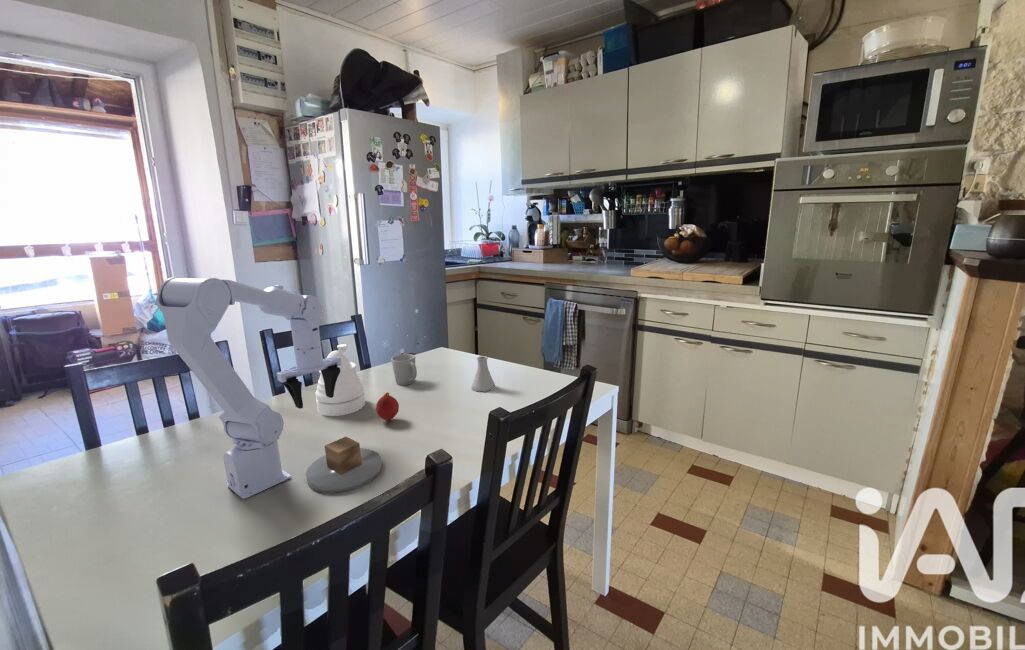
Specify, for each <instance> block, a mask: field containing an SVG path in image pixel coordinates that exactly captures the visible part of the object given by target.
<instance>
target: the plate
mask: <svg viewBox="0 0 1025 650" xmlns="http://www.w3.org/2000/svg"><path fill="white" fill-rule="evenodd" d="M360 453H361V462H362V465H360V466H358V467H356V468H354V469H352V470H350V471H348V472H346V473H344V474H341V475H340V474H338V473H336V472H335V471H333V470H331V469H330V468H328V467H327V461H326V454H325V455H322V456H320V457H318V459H316V460H314V461H313V462H312V463H311V464H310V465H309V466H308V467H307V469H306V472H305V477H306V484H307V485H308V487H309V488H311V489H312V490H313V491H316V492H319V493H325V494H337V493H344V492H349V491H353V490H355V489H356V490H357V489H359V488H361V487H363V486H365V485H366V484H368V483H370V482H372V481H373V480H374V479H375V478H377V476H379V475H380V473H381V471H382V468H383V466H382V465H383V464H382V458H381V455H380V454H379V453H378V452H377V451H375V450H372V449H369V448H362V447H360Z"/></svg>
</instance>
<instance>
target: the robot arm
mask: <svg viewBox="0 0 1025 650" xmlns="http://www.w3.org/2000/svg"><path fill="white" fill-rule="evenodd" d="M235 303H241V304H247V305H252V306H253V305H254V306H258V308H259V310H260V311H261V312H262V313H264V314H267V315H271V316H276V317H283V318H285V319H286V320H287V321H289V322H290V329H291V338H292V343H293V344H292V345H293V351H294V358H295V359H294V360H295V365H293V366H291V367H289V368H287V369H284V370H281V371H279V372H276V376H277V377H276V378H277V381H278V382H280V383H281V384H282V385H283V386H284V387H285V388H286V391H288V393H289V395H290V397H291V398H292V401H293V403H294V406H295V408H297V409H300V410H301V409H304V407H303V406H304V403H303V397H302V386H303V382H302V381H301V380H300V381H299V379H298V377H302V376H306V375H309V374H313V373H316V372H319V371H320V370H321V373H322V376H323V379H324V385H325V392H326V396H327V397H330V398H332V397H333V396H334V389H335V384H336V381H337V378H338V376H339V374H340V368H339V367H337V366H340V365H341V358H340V357H337V356H335V357H331V358H327V357H326V358H323V350H322V344H321V336H320V335H321V332H320V326H321V324H322V323H321V316H322V314H323V305H322V303H321V302H320V300H319V299H318V298H317V297H316V296H315V295H311V294H309V295H307V294H301V293H300V291H299V290H287V289H284V285H280V284H274V285H273V286H268V287H265V288H264V289H260V288H258V287H255V286H250V285H247V284H244V283H241V282H237V281H234V280H231V279H221V278H217V277H210V278H196V277H195V278H194V277H193V278H192V277H190V278H189V277H180V276H172V277H170V278H166V279H165V280H164V281H163V282H162V283H161V284H160V286H159V288H158V291H157V295H156V297H155V301H154V304H155V306H156V308H158V310H159V311H160V312H161V314H162V317H163V321H164V326H165V331H166V335H167V340H168V342H169V344H170V346H171V347H172V348H173V349H174V351H175V352H176V353H177V354H178V356H179V357H180V358H181V360H182V361H183V362H184V363H185V364H186V366H187V367H188V368H189V370H190V371H191V372H192V373H193V375H194V376H195V377H196V379H197V380H198V381H199V382H200V383H201V384H202V386H203V387H204V388H205V390H206V391H207V392H208V394H209V395H210V396H211V397H212V398H213V400H214V401H215V402H216V403H217V405H219V407H220V409H221V410H222V411H221V412H220V414H219V416H218V419H219V420H220V421H221V422H222V426H223V431H224V433H225V435H226V436H227V437H228V438H230V439H232V441H233V444H234V445H235V446H234V447H232V448H231V449H230V450H228V451H226V452H224V453H223V465H224V469H225V475H226V480H227V483H226V486H227V487H228V488H229V489H230V490H231V491H233V492H234V493H235V494H236V495H238V496H239V497H240V498H241V499H243V500H245V499H248V498H249V497H252V496H254V495H256V494H258V493H260V492H263V491H266V490H267V489H269V488H271V487H273V486H276V485H279V484H280V483H282V482H285V481H287V480H289V479H290V478H292V475H291V474H289V473H288V472H286V471H285V470H283V469H282V468H283V467H282V461H281V454H280V450H279V444H278V440H279V439H280V436H281V435H282V433H283V431H284V423H285V422H284V417H283V416H282V415H281V413H280V412H277V411H275V410H273V409H272V408H271V407H270V405H268V404H267V403H265V402H263V401H261V400H260V399H258V398H256V397H255V396H254V395H253V394H252V392H251V391H250V389H249V388H248V387H247V386H246V384H245V383H244V381H243V380H242V379H241V377H240V376H239V374H238V373H237V372H236V370H235V368H234V367H233V366H232V365H231V363H230V362H229V361H228V359H227V358H226V356H225V355H224V353H223V352H222V351H221V350H220V348H219V346H218V345H217V344H216V343H215V341H214V340H213V338H212V336H211V334H212V333H213V332H215V330H216V328H217V327H218V325H219V323H220V322H221V320H222V318H223V317H224V315H225V313H226V311H227V310H228V308H229V306H233V305H235Z"/></svg>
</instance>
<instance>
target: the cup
mask: <svg viewBox="0 0 1025 650" xmlns="http://www.w3.org/2000/svg"><path fill="white" fill-rule="evenodd" d="M390 361H391V366H392V371H393V375H394V379H395V382H396V384H397V385H398V386H409V385H412V384H413V383H414V382H415V380H416V378H417V373H418V372H417V370H418V369H417V366H416V355H415V354H411V353H402V354H397V355H394V356H392V357H391V359H390Z"/></svg>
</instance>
